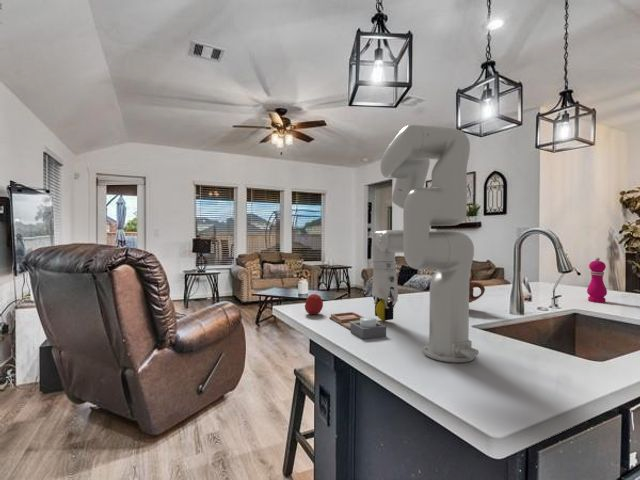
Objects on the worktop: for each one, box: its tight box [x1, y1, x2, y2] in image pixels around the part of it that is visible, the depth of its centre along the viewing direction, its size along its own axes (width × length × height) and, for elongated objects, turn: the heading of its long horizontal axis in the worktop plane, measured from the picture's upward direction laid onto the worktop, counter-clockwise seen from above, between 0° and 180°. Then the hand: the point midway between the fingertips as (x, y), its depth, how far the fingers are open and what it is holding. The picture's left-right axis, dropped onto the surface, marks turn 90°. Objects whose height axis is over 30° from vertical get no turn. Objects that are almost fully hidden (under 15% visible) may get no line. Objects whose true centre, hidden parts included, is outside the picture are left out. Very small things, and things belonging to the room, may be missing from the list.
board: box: [329, 311, 365, 331], centre depth 126 cm, size 19×10×2 cm, turn 22°
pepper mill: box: [586, 256, 608, 304], centre depth 165 cm, size 7×7×20 cm
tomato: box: [303, 293, 324, 316], centre depth 140 cm, size 8×8×8 cm
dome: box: [360, 316, 377, 328], centre depth 112 cm, size 5×5×4 cm
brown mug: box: [469, 276, 486, 304], centre depth 148 cm, size 20×12×14 cm, turn 53°
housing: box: [350, 321, 387, 340], centre depth 112 cm, size 8×8×3 cm
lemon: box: [376, 299, 390, 322], centre depth 128 cm, size 6×6×8 cm
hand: (383, 317), depth 128 cm, fingers closed on lemon, 5 cm apart
